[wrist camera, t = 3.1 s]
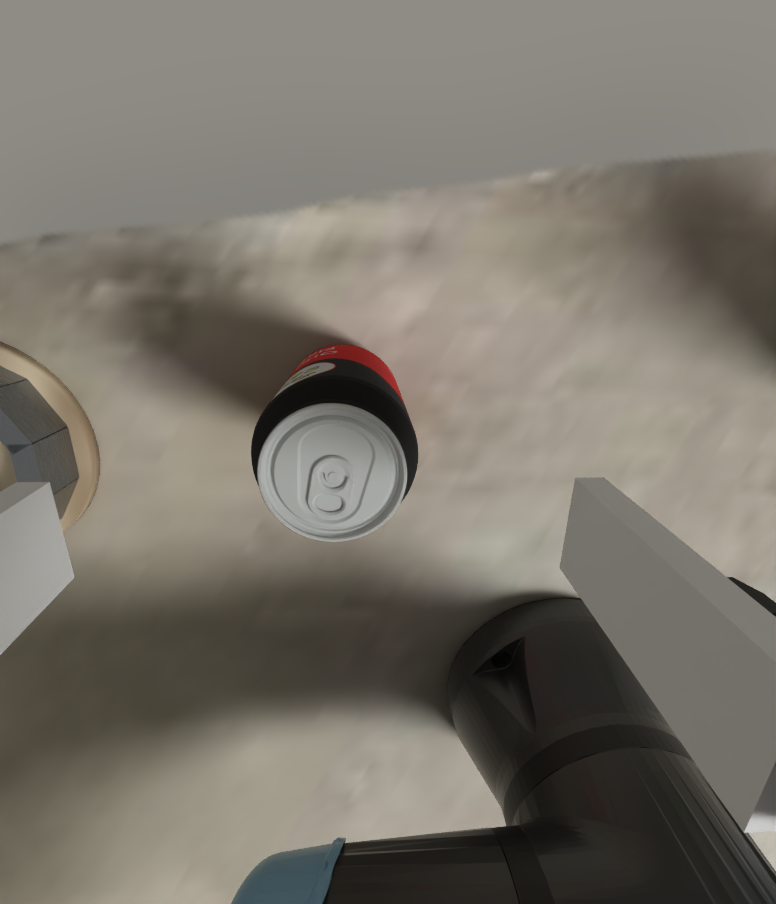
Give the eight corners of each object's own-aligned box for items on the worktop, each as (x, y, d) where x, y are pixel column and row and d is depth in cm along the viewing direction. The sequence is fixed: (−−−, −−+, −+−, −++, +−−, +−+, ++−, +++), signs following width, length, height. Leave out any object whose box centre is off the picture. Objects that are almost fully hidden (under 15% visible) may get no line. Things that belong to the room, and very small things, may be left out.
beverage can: (407, 352, 26) (442, 403, 15) (387, 454, 28) (405, 566, 17) (296, 333, 26) (246, 370, 14) (284, 439, 28) (232, 545, 16)
